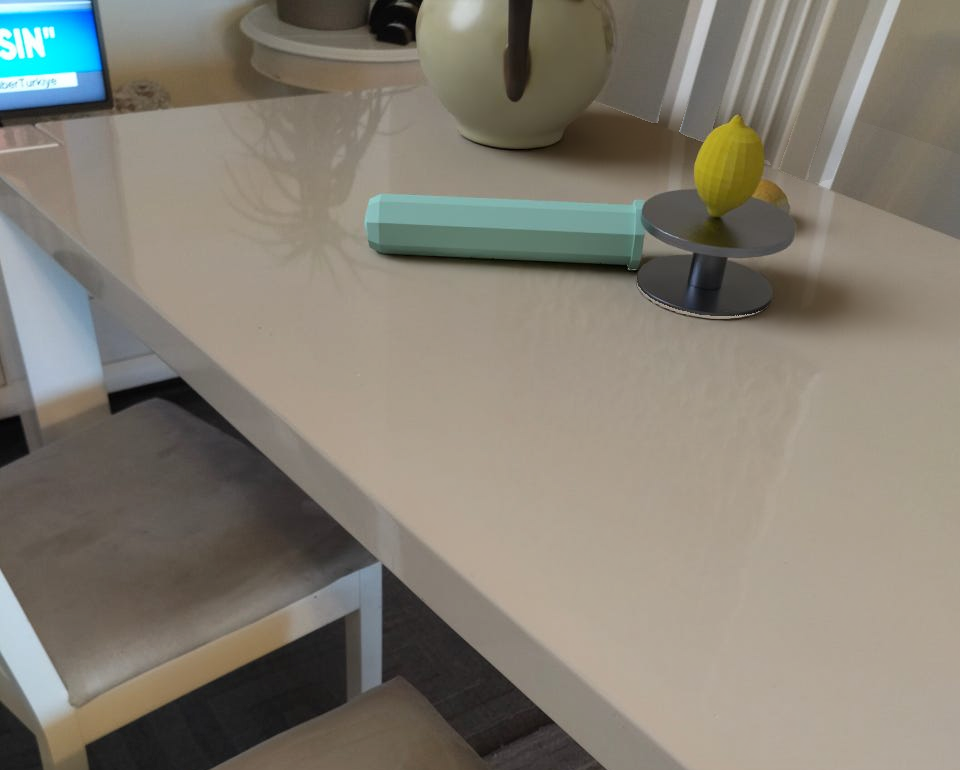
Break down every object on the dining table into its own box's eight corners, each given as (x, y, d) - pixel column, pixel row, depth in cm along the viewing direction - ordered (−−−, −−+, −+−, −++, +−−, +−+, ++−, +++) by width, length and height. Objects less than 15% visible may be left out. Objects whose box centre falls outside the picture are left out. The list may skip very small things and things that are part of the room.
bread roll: (718, 196, 104) (727, 156, 101) (795, 220, 100) (806, 179, 97) (678, 216, 99) (685, 175, 96) (756, 242, 95) (766, 200, 92)
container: (359, 184, 84) (648, 197, 84) (368, 189, 90) (639, 201, 90) (359, 257, 86) (641, 271, 86) (368, 257, 92) (633, 270, 92)
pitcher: (520, 95, 126) (538, -152, 109) (651, 148, 114) (695, -121, 96) (378, 122, 116) (372, -147, 98) (505, 184, 103) (524, -112, 86)
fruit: (758, 230, 81) (784, 125, 75) (693, 228, 80) (714, 123, 75) (742, 205, 85) (765, 104, 79) (679, 203, 84) (698, 101, 79)
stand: (795, 282, 89) (815, 211, 84) (748, 337, 81) (767, 262, 76) (664, 247, 93) (676, 178, 89) (606, 295, 85) (616, 222, 81)
